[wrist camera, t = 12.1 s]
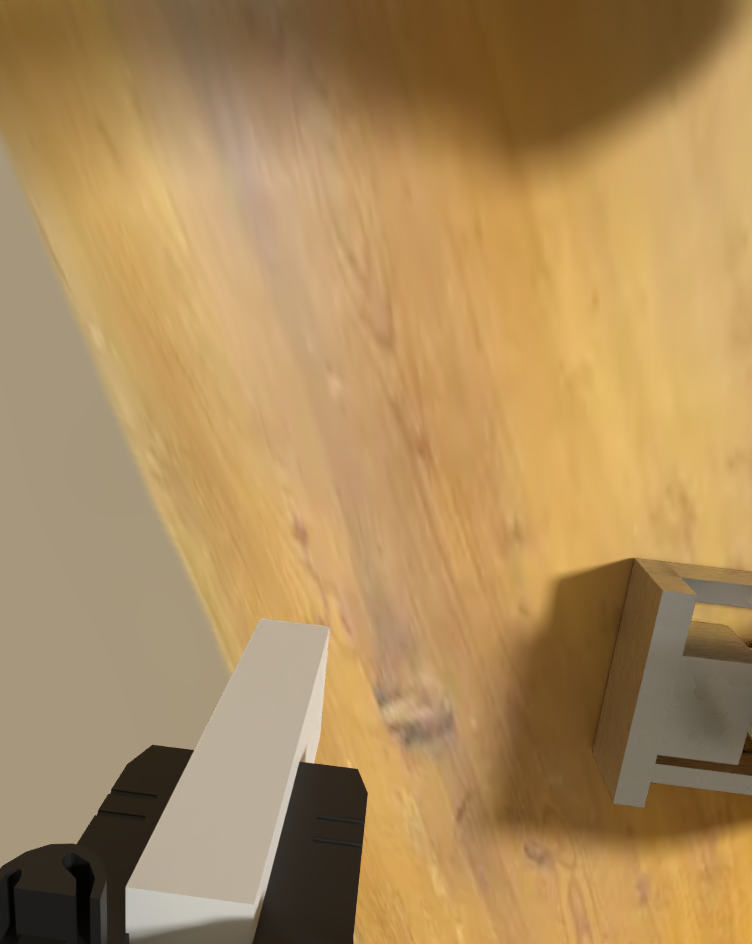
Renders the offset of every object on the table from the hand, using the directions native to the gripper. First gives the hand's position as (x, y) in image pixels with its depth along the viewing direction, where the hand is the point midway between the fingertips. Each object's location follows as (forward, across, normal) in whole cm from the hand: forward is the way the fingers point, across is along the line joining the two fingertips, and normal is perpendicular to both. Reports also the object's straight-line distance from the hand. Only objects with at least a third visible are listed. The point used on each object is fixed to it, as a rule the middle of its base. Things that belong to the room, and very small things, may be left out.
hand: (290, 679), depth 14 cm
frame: (+28, +25, -14) cm, 41 cm away
